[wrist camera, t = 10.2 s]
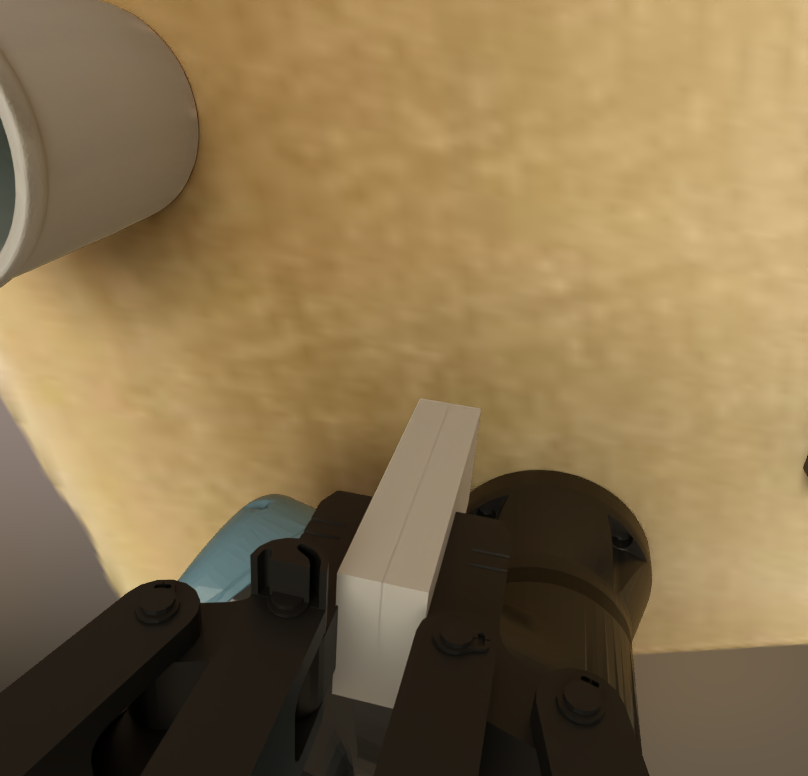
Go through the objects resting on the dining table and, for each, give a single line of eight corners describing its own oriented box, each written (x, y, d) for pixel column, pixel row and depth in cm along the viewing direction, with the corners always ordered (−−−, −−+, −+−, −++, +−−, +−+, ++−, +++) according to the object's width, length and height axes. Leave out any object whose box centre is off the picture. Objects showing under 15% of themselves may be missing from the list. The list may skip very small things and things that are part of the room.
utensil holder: (243, 62, 43) (55, 65, 28) (174, 268, 50) (-7, 362, 35) (31, -58, 43) (-275, -121, 28) (-9, 166, 50) (-272, 215, 35)
